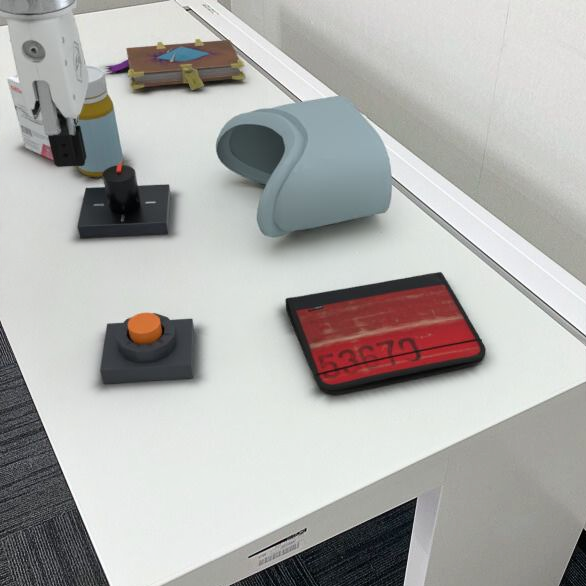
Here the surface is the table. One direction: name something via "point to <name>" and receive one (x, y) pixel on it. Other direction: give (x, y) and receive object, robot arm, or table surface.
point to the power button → (144, 328)
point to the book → (182, 64)
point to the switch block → (148, 353)
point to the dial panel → (125, 214)
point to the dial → (121, 188)
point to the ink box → (29, 122)
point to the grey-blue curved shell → (309, 163)
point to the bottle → (99, 127)
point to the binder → (384, 333)
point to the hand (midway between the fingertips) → (71, 162)
